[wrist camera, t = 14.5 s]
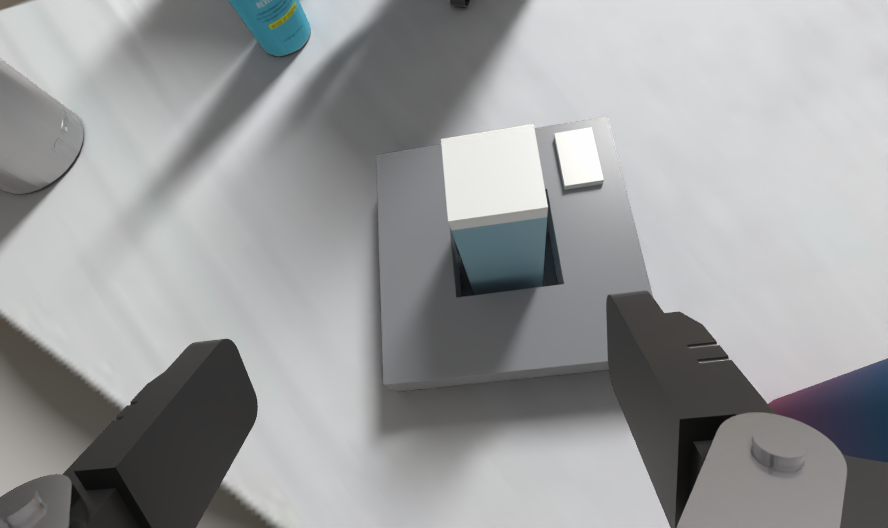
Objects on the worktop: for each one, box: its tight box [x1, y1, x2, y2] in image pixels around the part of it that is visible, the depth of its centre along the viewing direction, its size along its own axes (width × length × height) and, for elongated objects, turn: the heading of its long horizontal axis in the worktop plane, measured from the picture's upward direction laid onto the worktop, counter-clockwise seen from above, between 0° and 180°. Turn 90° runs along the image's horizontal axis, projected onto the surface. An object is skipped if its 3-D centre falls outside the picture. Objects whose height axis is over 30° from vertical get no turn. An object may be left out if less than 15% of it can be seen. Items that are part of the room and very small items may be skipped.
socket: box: [376, 116, 653, 392], centre depth 32 cm, size 16×16×4 cm
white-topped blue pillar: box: [441, 124, 548, 295], centre depth 28 cm, size 4×4×12 cm
